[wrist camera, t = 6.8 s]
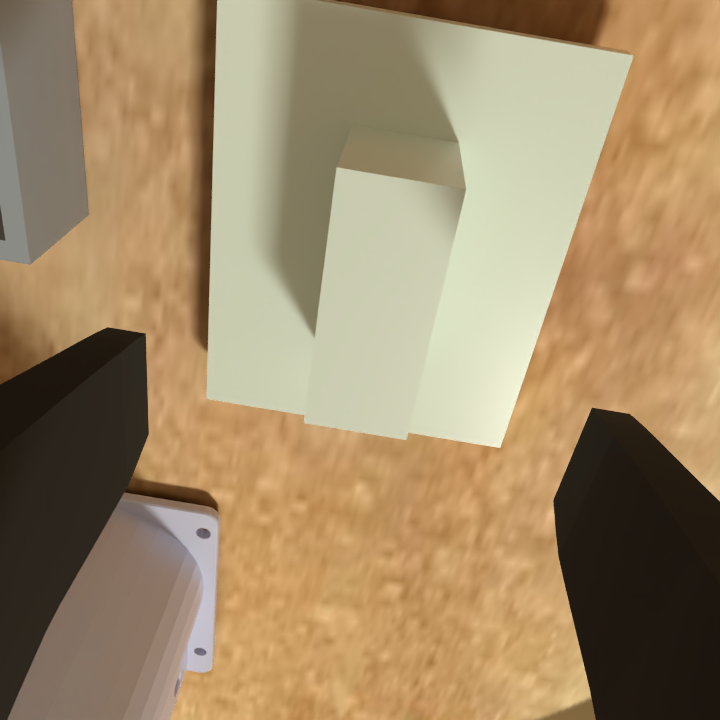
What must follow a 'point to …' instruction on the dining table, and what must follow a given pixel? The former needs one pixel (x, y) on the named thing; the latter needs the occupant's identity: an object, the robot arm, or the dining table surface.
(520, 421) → the dining table surface
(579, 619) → the robot arm
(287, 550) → the dining table surface
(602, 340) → the dining table surface
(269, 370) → the lid
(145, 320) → the dining table surface
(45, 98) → the box
